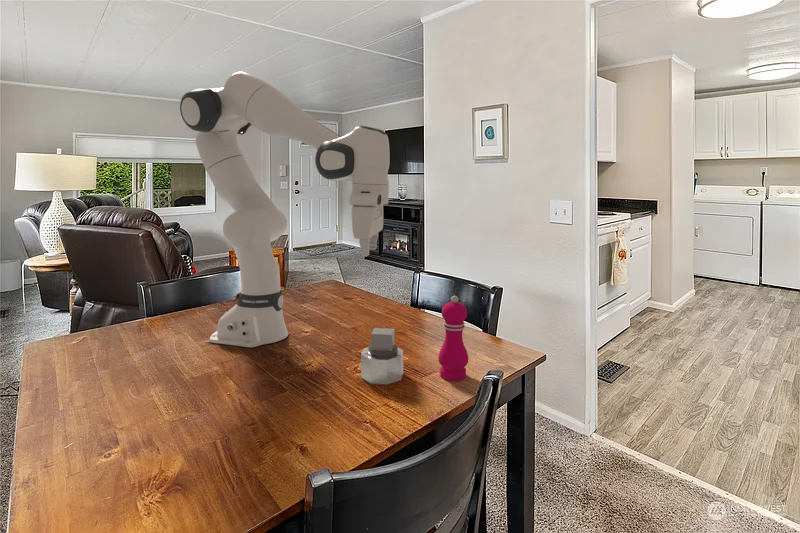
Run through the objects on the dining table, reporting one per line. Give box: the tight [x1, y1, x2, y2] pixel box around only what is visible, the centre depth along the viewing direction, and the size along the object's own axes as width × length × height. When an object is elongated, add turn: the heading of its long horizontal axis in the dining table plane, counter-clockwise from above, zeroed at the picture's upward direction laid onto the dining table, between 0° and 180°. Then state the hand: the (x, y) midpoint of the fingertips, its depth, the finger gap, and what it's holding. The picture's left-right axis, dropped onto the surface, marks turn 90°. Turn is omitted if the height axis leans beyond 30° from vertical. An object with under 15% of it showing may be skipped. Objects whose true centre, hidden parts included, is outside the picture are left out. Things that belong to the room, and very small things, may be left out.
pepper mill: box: [437, 295, 469, 382], centre depth 111 cm, size 7×7×20 cm
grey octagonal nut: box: [360, 346, 404, 385], centre depth 112 cm, size 10×10×6 cm
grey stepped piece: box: [368, 327, 399, 358], centre depth 111 cm, size 7×7×8 cm
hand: (368, 252), depth 115 cm, fingers open, 8 cm apart
